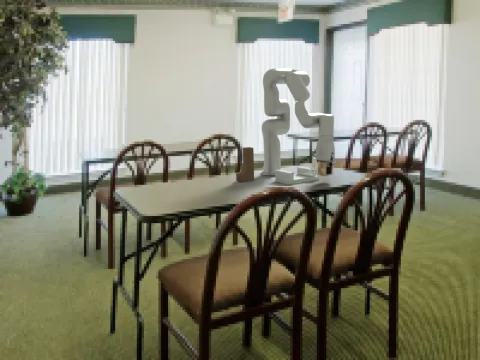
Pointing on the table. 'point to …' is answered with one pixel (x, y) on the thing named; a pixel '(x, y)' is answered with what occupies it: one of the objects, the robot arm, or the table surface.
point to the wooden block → (247, 166)
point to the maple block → (323, 168)
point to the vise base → (298, 179)
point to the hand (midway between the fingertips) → (325, 173)
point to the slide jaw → (308, 169)
